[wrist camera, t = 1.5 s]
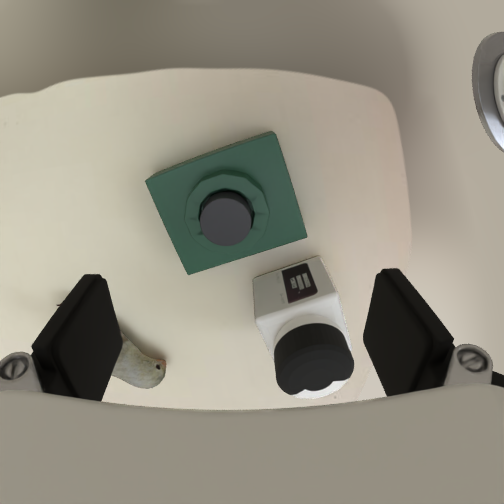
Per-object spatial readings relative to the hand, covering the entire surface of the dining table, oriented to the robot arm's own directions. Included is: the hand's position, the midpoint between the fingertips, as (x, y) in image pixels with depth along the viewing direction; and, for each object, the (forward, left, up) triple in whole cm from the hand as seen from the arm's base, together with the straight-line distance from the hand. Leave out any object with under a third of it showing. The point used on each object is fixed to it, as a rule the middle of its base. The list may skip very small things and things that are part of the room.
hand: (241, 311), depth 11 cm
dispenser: (+2, +2, -21) cm, 21 cm away
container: (-1, +14, -22) cm, 26 cm away
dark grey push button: (+2, +2, -17) cm, 17 cm away
